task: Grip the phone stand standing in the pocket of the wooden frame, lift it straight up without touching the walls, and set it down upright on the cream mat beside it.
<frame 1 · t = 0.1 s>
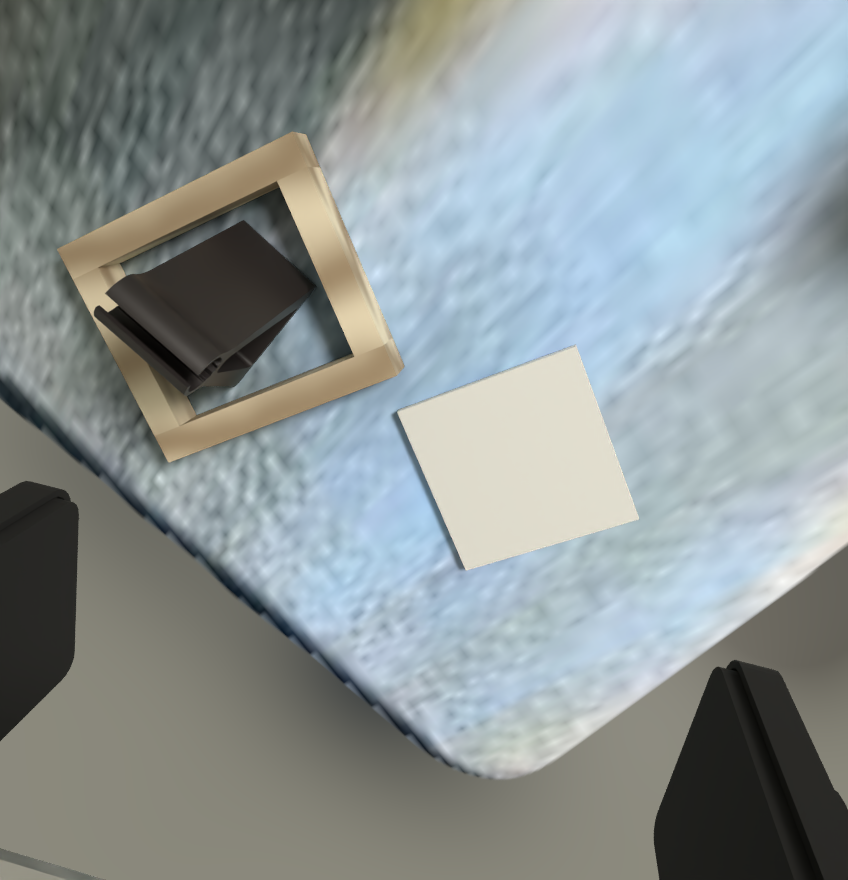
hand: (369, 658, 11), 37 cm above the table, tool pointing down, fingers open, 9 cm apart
cream mat: (518, 462, 49), on the table
wooden frame: (240, 305, 48), on the table
phone stand: (242, 305, 49), resting in wooden frame
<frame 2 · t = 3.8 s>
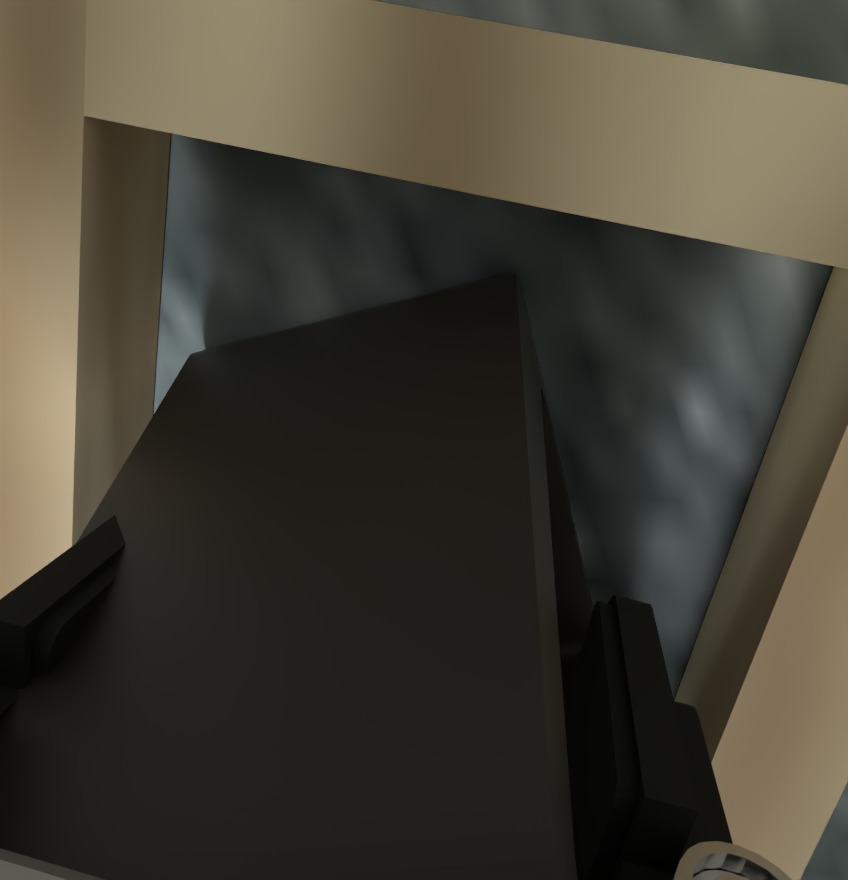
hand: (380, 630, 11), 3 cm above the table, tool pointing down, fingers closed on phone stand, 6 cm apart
wooden frame: (416, 544, 14), on the table
phone stand: (418, 535, 15), resting in wooden frame, touching gripper
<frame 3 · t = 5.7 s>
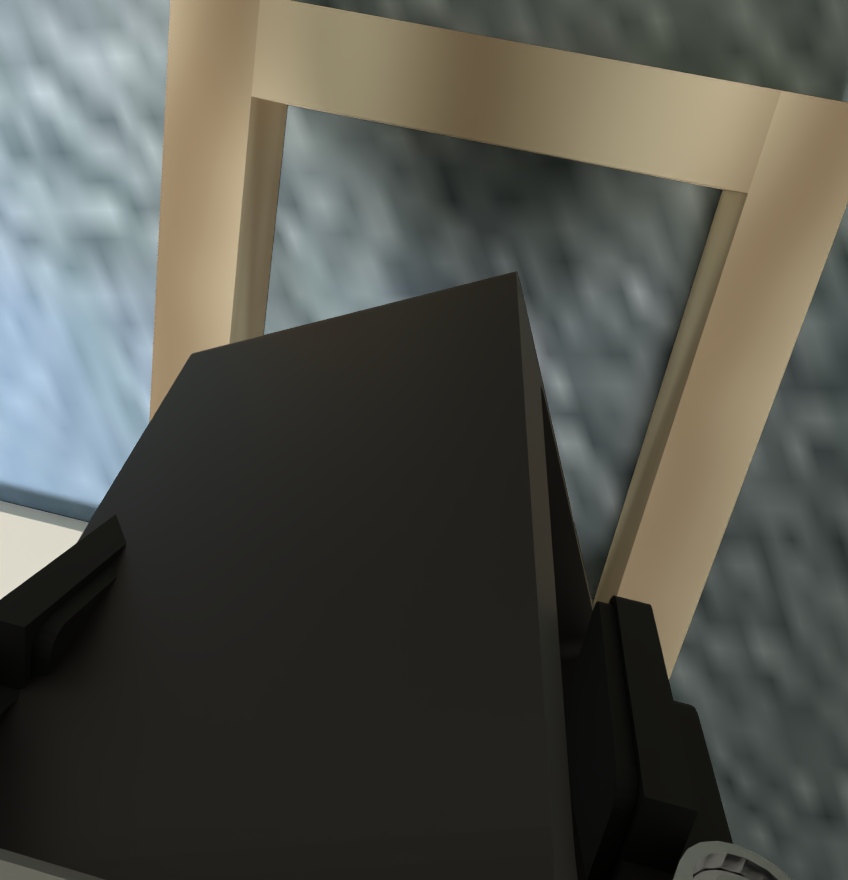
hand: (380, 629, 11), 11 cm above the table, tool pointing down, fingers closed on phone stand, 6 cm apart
wooden frame: (449, 391, 21), on the table
phone stand: (419, 534, 15), point 7 cm above the table, touching gripper
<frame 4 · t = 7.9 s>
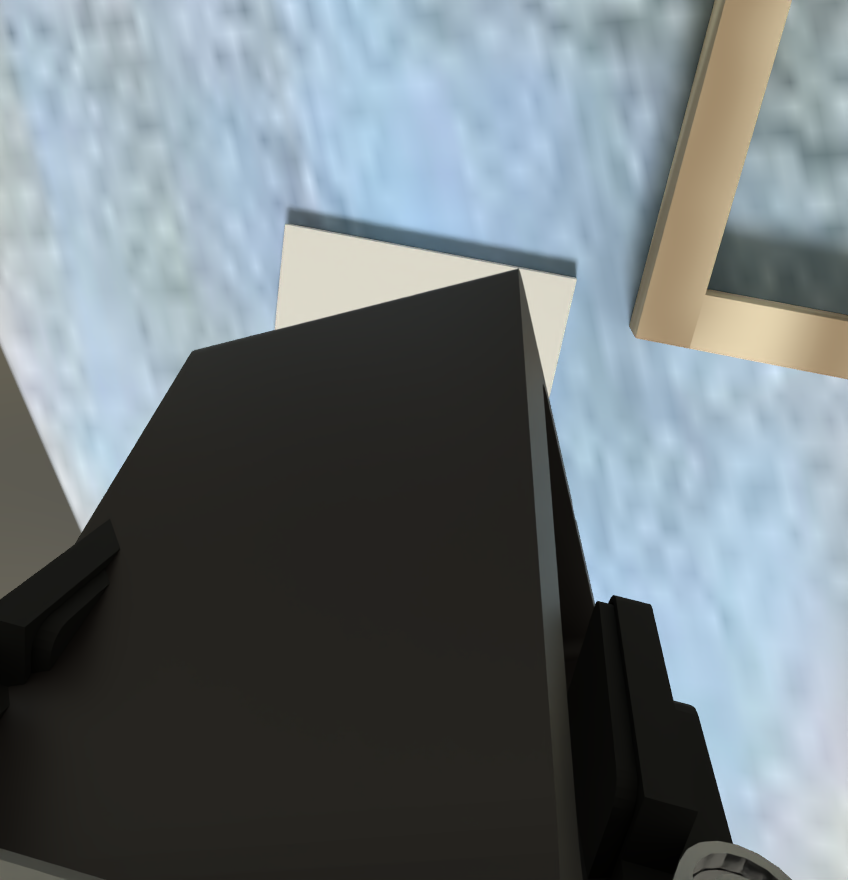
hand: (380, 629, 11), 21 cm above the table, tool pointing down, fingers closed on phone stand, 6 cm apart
cream mat: (407, 389, 33), on the table
phone stand: (420, 532, 14), point 18 cm above the table, touching gripper
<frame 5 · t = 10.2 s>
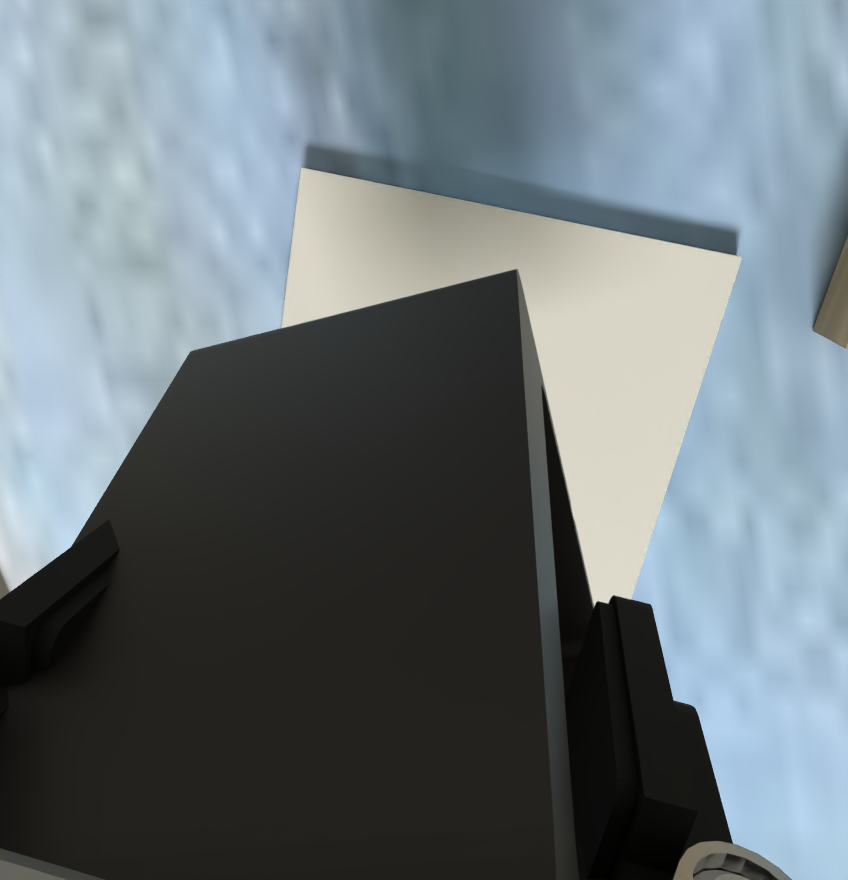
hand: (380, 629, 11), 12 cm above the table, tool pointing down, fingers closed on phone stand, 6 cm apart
cream mat: (471, 415, 23), on the table
phone stand: (419, 533, 14), point 9 cm above the table, touching gripper
when the fingers open (5 cm above the table, at t = 12.0 s): phone stand drops 1 cm, resting on cream mat.
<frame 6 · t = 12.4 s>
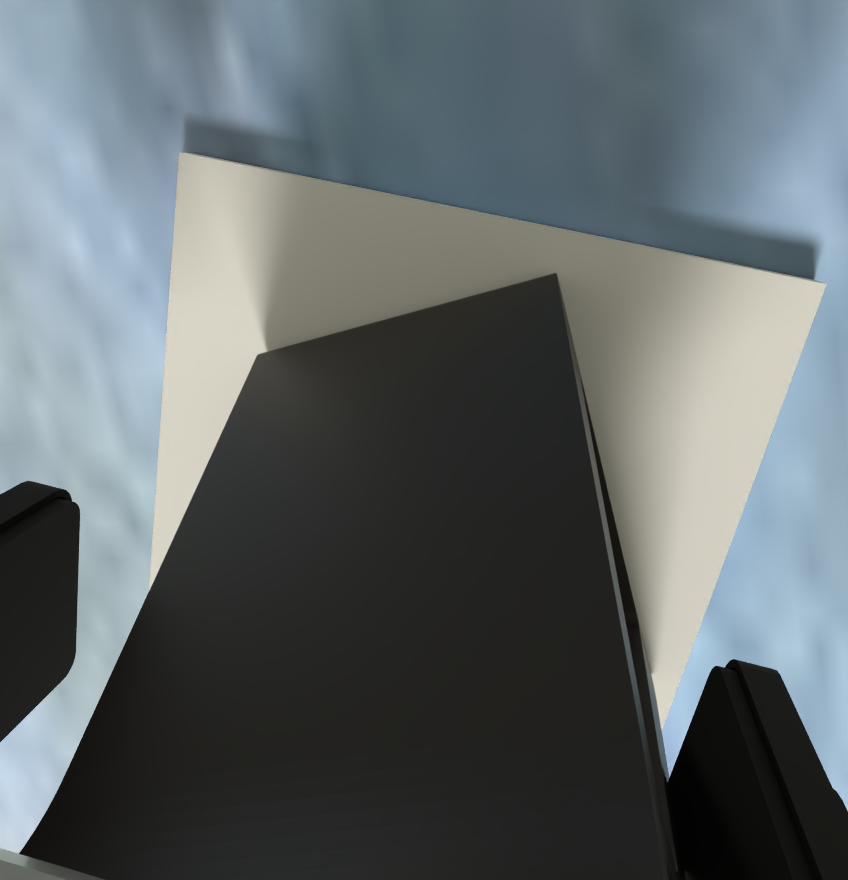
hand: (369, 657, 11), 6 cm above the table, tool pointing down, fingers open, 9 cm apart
cream mat: (432, 498, 16), on the table
phone stand: (466, 517, 16), resting on cream mat
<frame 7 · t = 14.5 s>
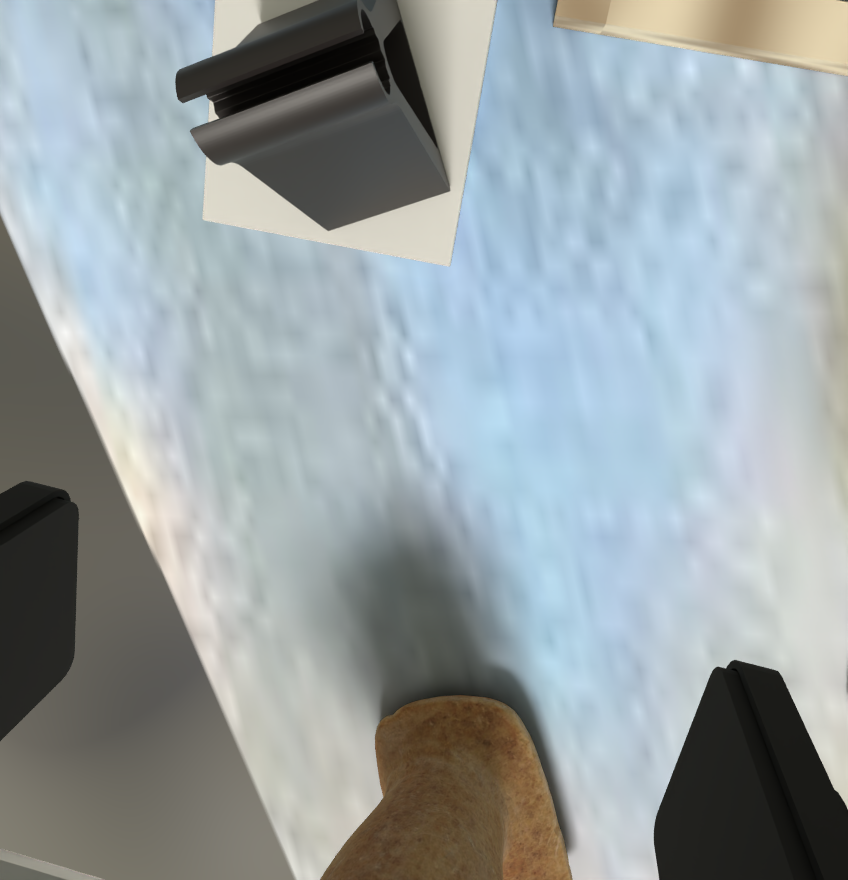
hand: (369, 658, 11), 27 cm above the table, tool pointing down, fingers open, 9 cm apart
cream mat: (343, 106, 34), on the table
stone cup: (456, 783, 47), on the table
phone stand: (359, 110, 33), resting on cream mat
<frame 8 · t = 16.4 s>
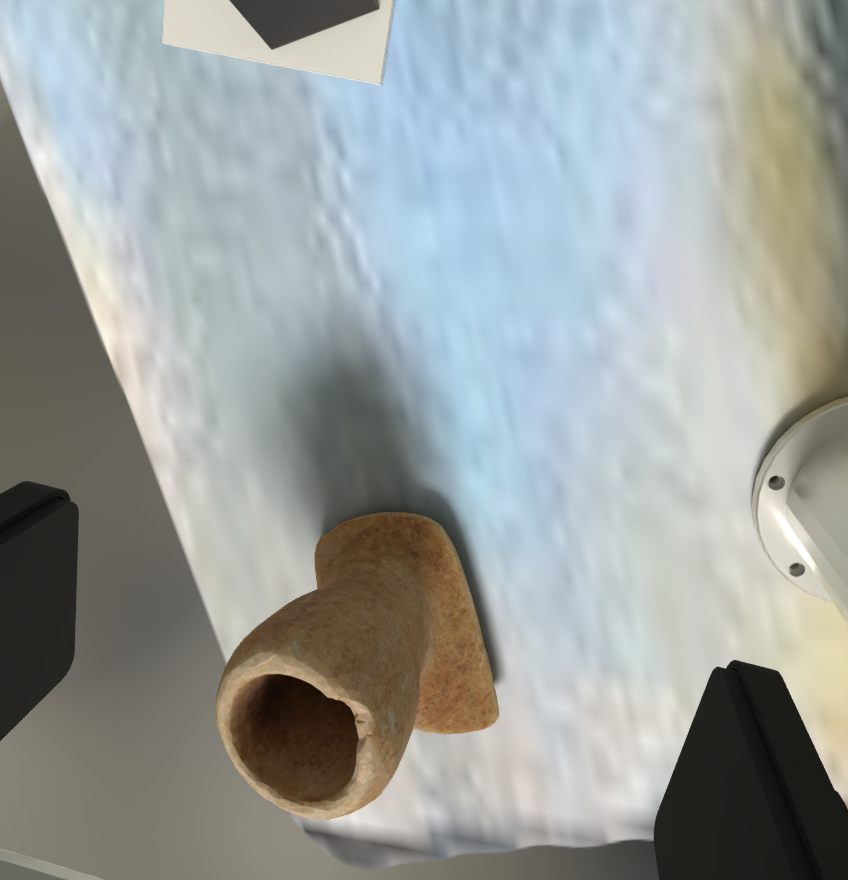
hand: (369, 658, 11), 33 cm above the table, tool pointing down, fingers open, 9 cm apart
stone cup: (393, 610, 50), on the table
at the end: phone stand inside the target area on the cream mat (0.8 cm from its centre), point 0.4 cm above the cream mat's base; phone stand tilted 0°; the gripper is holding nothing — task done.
